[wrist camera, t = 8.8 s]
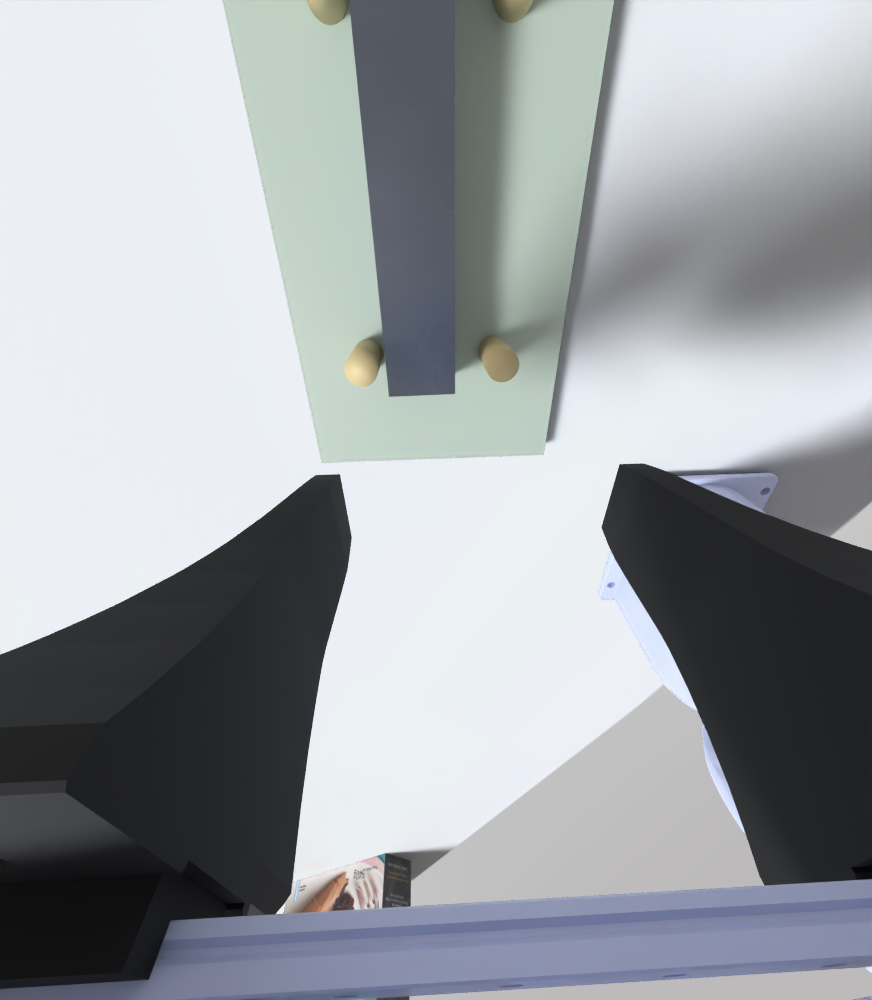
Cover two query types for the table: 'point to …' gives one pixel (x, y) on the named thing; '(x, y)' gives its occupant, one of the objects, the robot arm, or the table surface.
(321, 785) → the table surface
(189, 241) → the table surface
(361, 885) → the cake mix box
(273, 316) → the table surface
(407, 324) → the dark grey spoon shape
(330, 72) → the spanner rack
